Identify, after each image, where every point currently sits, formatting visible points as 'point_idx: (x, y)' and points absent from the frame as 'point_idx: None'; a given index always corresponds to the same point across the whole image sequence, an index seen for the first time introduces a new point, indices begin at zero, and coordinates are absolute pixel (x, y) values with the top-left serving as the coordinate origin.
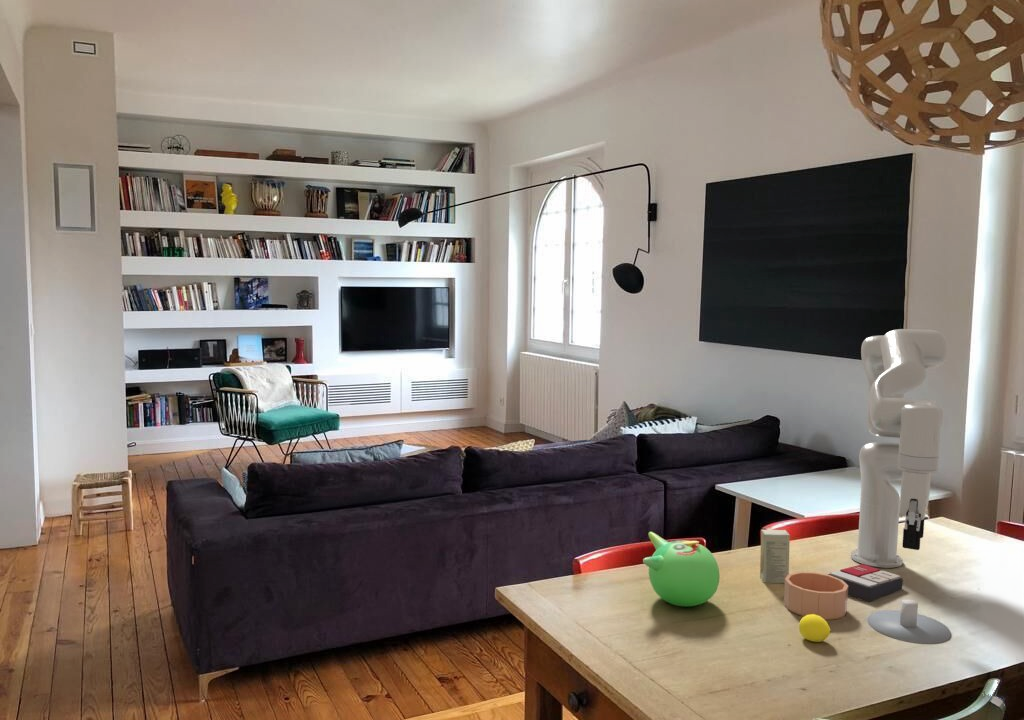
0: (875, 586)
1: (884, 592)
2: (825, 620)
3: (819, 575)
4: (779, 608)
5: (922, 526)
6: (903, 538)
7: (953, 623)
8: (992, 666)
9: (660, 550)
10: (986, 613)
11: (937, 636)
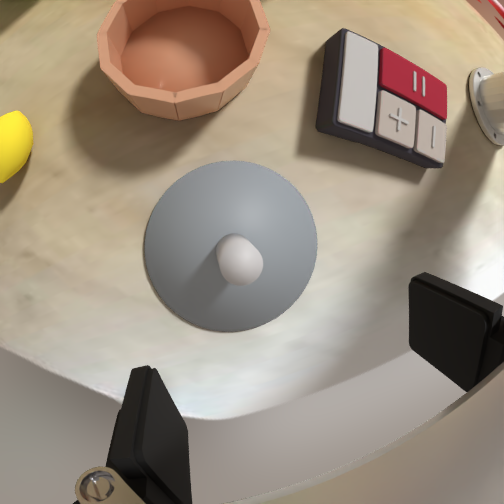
0: (355, 131)
1: (377, 147)
2: (9, 157)
3: (253, 13)
4: None
5: (447, 375)
6: (126, 404)
7: (323, 305)
8: None
9: None
10: (402, 320)
11: (218, 316)
